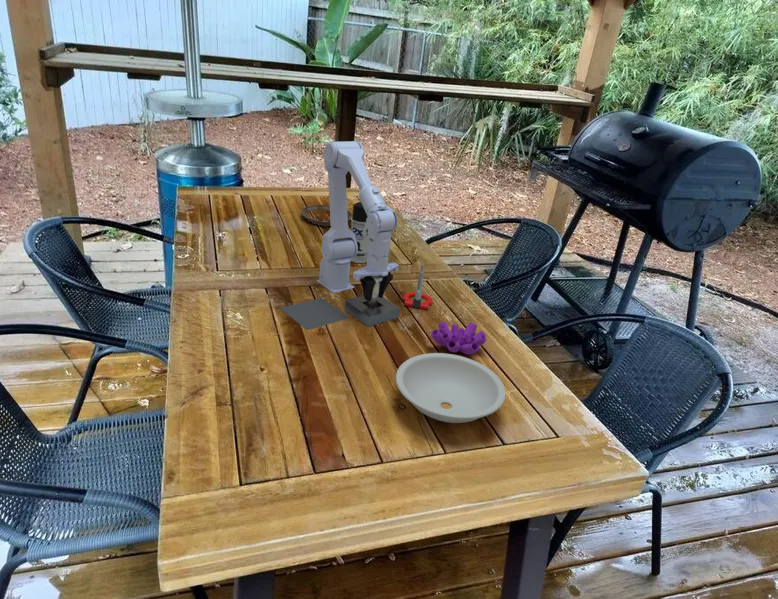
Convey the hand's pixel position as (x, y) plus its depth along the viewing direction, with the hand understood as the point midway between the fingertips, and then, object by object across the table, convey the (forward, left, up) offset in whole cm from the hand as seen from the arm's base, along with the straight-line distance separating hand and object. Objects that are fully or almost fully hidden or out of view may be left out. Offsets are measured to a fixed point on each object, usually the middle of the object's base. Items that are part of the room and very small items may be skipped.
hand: (373, 298), depth 157 cm
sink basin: (+42, -12, -6) cm, 44 cm away
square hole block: (0, 0, -5) cm, 5 cm away
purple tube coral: (+26, +8, -6) cm, 28 cm away
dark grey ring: (-74, +35, -6) cm, 82 cm away
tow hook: (0, +18, -6) cm, 19 cm away
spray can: (-34, +21, -6) cm, 40 cm away
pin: (0, 0, -3) cm, 3 cm away
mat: (-8, -14, -5) cm, 17 cm away
